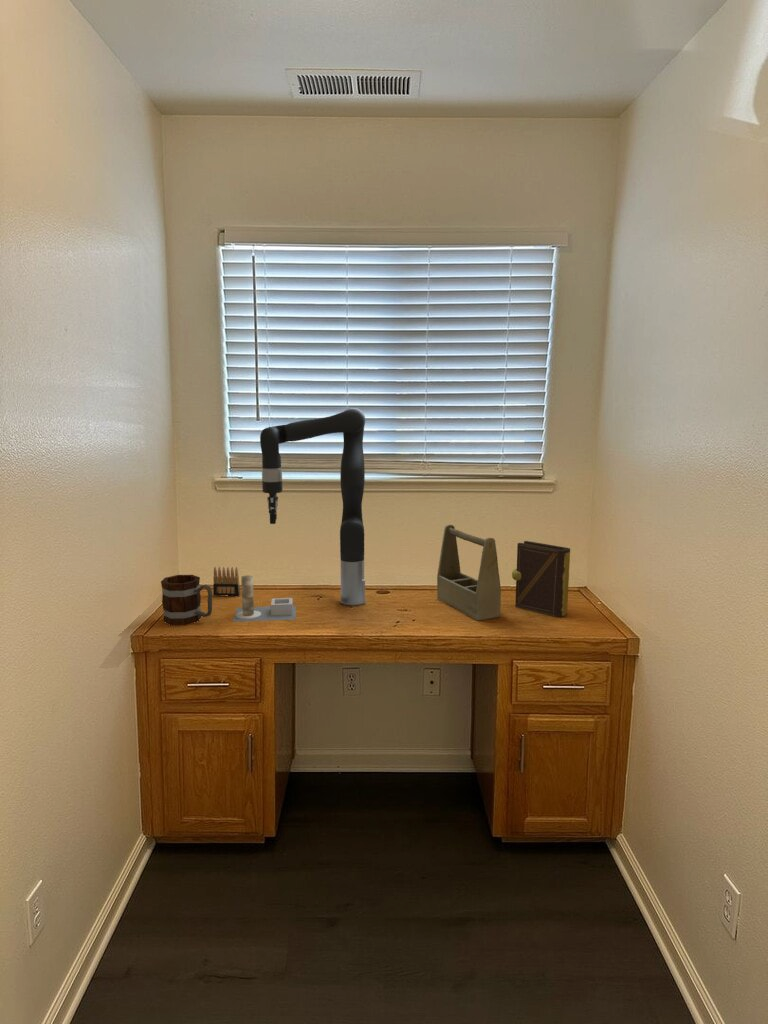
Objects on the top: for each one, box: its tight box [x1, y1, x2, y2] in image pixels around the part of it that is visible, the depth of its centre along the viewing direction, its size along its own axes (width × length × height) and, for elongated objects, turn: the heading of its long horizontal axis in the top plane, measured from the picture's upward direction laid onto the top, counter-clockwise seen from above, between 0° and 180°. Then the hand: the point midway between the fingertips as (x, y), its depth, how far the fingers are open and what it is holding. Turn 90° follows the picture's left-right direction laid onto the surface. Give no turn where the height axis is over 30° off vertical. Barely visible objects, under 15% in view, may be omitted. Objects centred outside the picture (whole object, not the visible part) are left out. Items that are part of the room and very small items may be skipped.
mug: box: [160, 574, 213, 626], centre depth 236 cm, size 20×14×15 cm
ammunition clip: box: [212, 566, 241, 597], centre depth 266 cm, size 11×2×12 cm, turn 86°
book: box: [511, 540, 571, 619], centre depth 247 cm, size 22×8×25 cm, turn 47°
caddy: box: [436, 524, 502, 621], centre depth 250 cm, size 29×11×30 cm, turn 25°
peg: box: [240, 574, 255, 616], centre depth 238 cm, size 4×4×14 cm
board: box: [232, 597, 297, 623], centre depth 241 cm, size 22×16×6 cm
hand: (273, 521), depth 253 cm, fingers open, 8 cm apart
